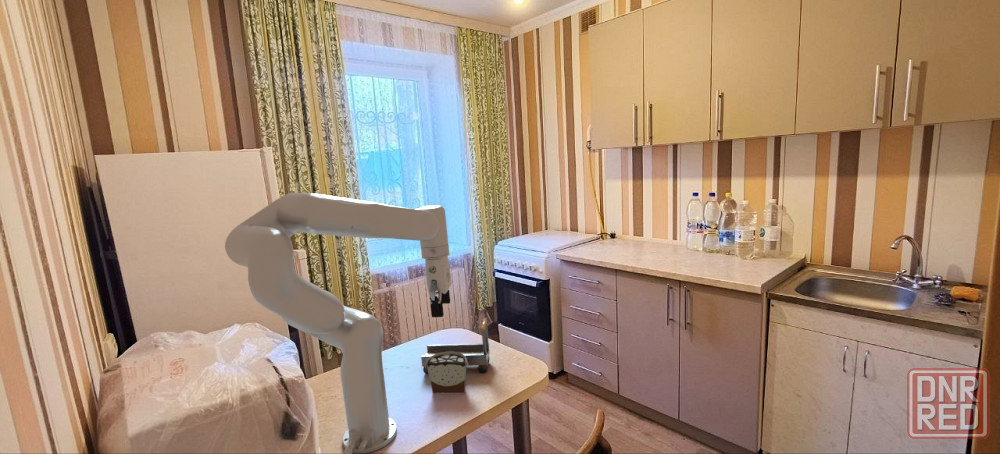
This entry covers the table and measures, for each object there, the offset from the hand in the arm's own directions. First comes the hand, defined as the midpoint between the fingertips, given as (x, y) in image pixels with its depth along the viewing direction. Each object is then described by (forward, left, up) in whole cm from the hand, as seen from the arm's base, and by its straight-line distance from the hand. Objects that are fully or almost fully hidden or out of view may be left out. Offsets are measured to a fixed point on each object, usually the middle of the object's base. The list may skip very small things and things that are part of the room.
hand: (441, 309), depth 119 cm
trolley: (+10, -1, -24) cm, 26 cm away
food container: (-1, -1, -24) cm, 24 cm away
